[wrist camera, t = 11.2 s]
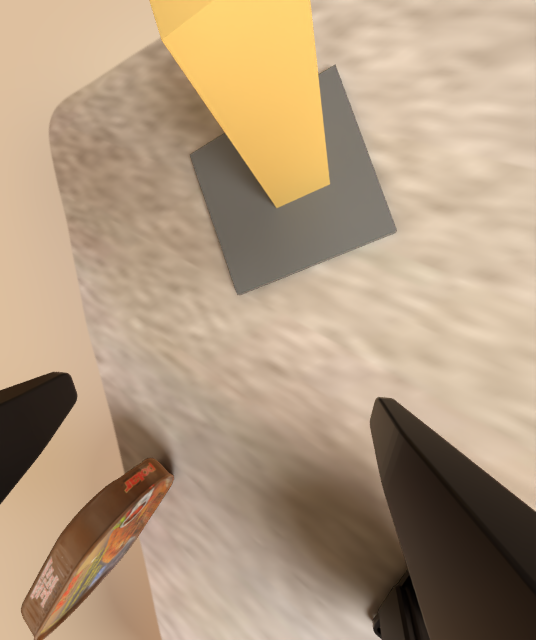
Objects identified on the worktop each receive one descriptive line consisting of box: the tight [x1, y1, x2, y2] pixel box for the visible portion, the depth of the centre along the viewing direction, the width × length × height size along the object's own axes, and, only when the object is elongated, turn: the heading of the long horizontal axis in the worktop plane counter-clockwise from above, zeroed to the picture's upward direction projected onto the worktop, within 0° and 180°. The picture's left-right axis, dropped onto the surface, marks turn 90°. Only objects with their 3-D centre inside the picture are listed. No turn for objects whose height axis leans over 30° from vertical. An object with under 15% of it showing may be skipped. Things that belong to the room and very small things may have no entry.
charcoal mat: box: [190, 65, 397, 295], centre depth 19 cm, size 12×12×1 cm
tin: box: [21, 458, 174, 640], centre depth 21 cm, size 15×3×8 cm, turn 147°
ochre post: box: [150, 0, 330, 208], centre depth 12 cm, size 4×4×12 cm
